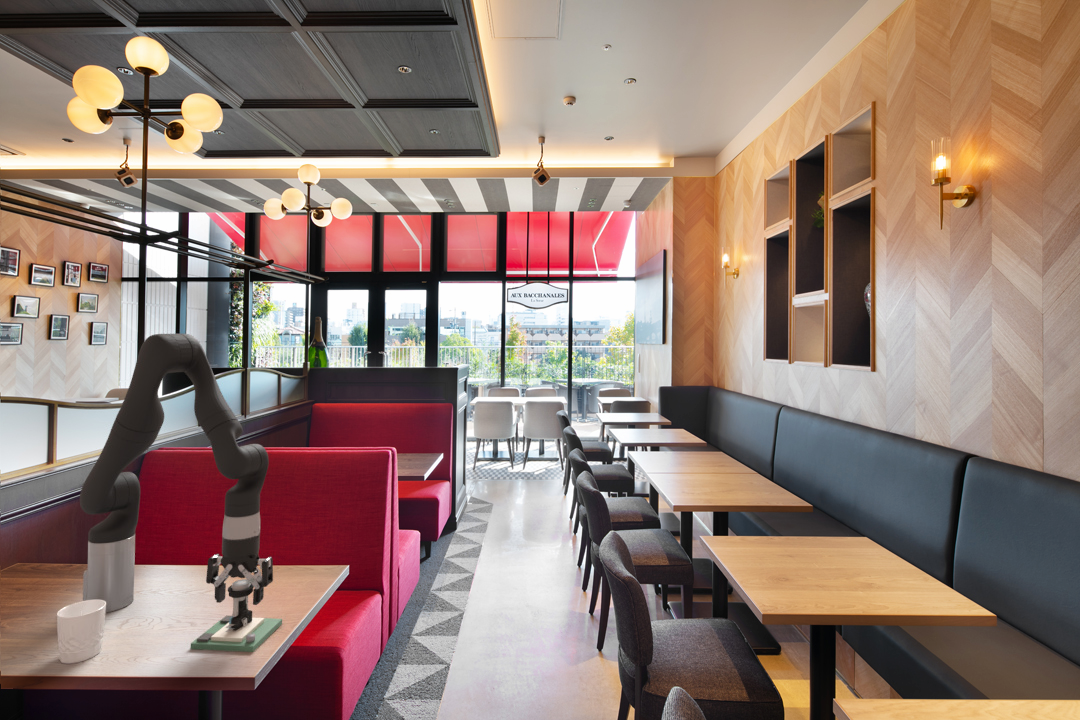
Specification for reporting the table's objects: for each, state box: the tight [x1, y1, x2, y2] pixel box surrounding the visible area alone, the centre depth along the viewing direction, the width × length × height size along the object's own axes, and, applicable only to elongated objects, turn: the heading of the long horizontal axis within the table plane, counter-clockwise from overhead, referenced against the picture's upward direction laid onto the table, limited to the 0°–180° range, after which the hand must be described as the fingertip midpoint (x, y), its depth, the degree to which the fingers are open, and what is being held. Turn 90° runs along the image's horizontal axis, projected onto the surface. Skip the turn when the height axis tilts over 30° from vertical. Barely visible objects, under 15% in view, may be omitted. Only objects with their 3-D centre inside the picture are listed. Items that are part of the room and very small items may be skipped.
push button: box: [225, 578, 255, 632], centre depth 120 cm, size 7×5×10 cm
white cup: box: [56, 600, 107, 664], centre depth 111 cm, size 8×8×10 cm
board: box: [190, 615, 283, 653], centre depth 120 cm, size 14×12×2 cm
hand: (239, 602), depth 120 cm, fingers open, 8 cm apart
